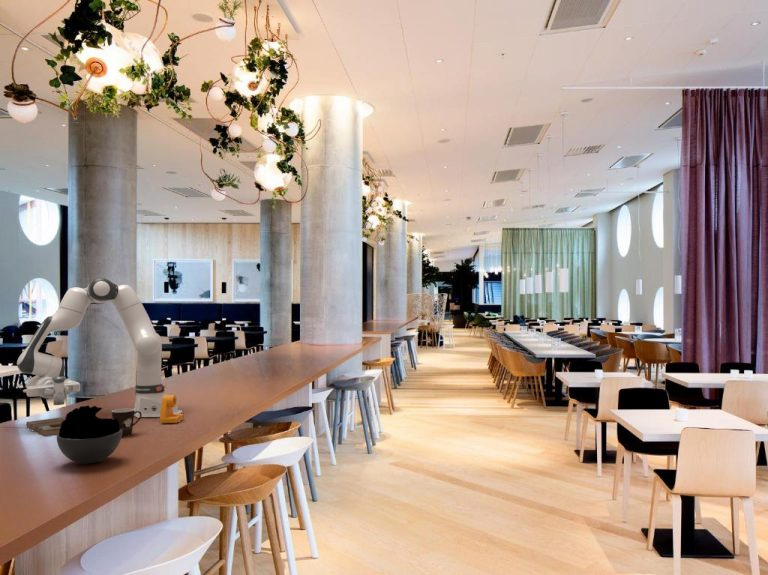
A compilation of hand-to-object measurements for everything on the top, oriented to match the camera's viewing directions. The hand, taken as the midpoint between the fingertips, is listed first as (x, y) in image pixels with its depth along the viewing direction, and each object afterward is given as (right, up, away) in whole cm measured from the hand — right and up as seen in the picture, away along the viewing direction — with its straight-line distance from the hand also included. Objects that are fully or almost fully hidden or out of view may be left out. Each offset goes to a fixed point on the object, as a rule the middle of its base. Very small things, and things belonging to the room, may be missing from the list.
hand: (59, 391), depth 258 cm
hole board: (-5, -17, +5) cm, 18 cm away
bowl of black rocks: (+35, -16, -49) cm, 62 cm away
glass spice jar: (-1, -6, +1) cm, 6 cm away
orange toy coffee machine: (+40, -17, +20) cm, 48 cm away
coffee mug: (+30, -17, -6) cm, 35 cm away
